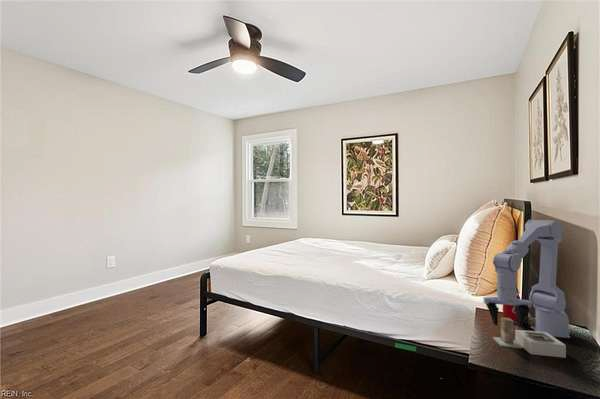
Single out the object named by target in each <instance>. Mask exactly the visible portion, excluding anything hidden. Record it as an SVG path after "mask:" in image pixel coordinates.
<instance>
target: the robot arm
mask: <svg viewBox="0 0 600 399" xmlns="http://www.w3.org/2000/svg"><path fill="white" fill-rule="evenodd" d="M535 240H536V241H537V242H539V243H540V257H539V258H540V259H539V275H538V276H539V277H538V283H536V284H534V285H532V286H531V291H530V293H529V300H528V299H521V298H520V299H517V293H518V292H517V291H518V290H517V271H518V270H520V269H521V265H522V263H523V262H522V261H523V258H525V256H526V255H527V254H528V252H529V250H530V249H529V246H530V245H531V244H533V243H534V242H535ZM562 242H563V225H562V224H561V222H560V221H559V220H548V219H547V220H543V219H532V218H531V219H528V220H527V221H526V223H525V225H524V231H523V233H522V234H521V236H520V237H519V239H518V240H513V241H511V242H510V244H508V245H507V247H506V248H505V249H504V250H503V251H502V252H498V253H496V254H495V255H494V257H493V260H492V264H493V266H494V270H495V273H496V290H497V293H496V295H497V296H486V297H485V296H483V297H482V299H483V303H484V304H485V305H486V307H487V309H488V311H489V313H490V316H491V321H492V324H493V325H494V326H498V322H499V321H498V320H499V319H498V314H499V307H498V305H501V306H503V305H514V306H515V309H516V323H515V324H516V326H517V327H519V328H522V327H523V324H524V322H525V319H526V317H527V315H528V314H529V313H530V310H531V309H530V308H532V305H533V308H534V309H535V326H532V325H531V326H530V329H532V331H535V332H546V333H548V334H550V335H551V336H553V337H554V338H565V339H571V336H570V321H569V316H568V314H567V313H566V312H565V309H566V307H567V301H566V298H565V297H566V295H565V292H564V291H563V289H560V288H559V287H558V286H557V271H558V270H557V267H558V252H559V250H558V249H559V243H562Z"/></svg>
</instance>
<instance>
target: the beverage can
mask: <svg viewBox="0 0 600 399" xmlns="http://www.w3.org/2000/svg"><path fill="white" fill-rule="evenodd" d="M517 299H521V296H520V293H518V292H517ZM502 317H503V318H510V319H511V320H513V324H516V309H515V306H514V305H502Z"/></svg>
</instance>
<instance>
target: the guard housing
mask: <svg viewBox="0 0 600 399" xmlns="http://www.w3.org/2000/svg"><path fill="white" fill-rule="evenodd" d="M514 333H515V339H514V340H515V341H516V342H517V343H518V344H519V345H521V346H522V349H524V351H527V353H528V354H530V355H536V356H544V357H545V356H547V357H553V358H556V357H557V358H565V359H566V358H567V346H566V344H565V343H563V342H562V341H560V340H559V339H557V337H553V336H551V335H550V334H548V333H546V332H536V331H535V330H522V329H521V330H520V329H515V332H514ZM541 338H542V339H541Z"/></svg>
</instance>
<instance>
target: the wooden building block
mask: <svg viewBox="0 0 600 399" xmlns="http://www.w3.org/2000/svg"><path fill="white" fill-rule="evenodd" d="M500 338H501V340H502V341H503V342H504V343H510V344H513V339H514V323H513V320H511V319H510V318H503V316H501V317H500Z"/></svg>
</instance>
